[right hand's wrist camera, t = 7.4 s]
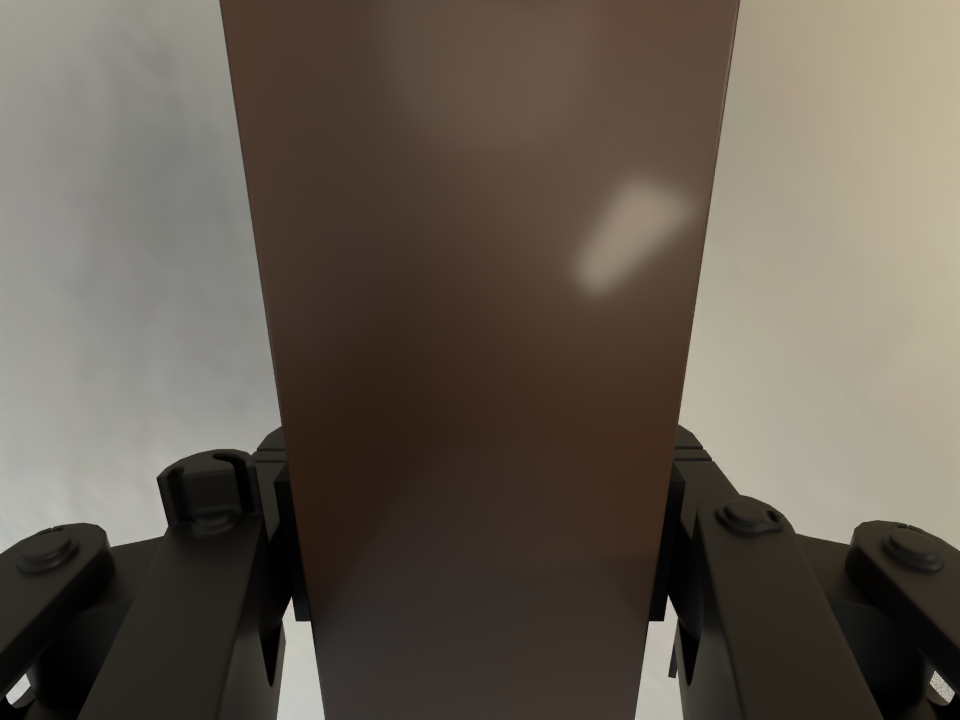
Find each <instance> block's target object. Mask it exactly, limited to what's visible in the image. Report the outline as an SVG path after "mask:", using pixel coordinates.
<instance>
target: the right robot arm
mask: <svg viewBox="0 0 960 720" xmlns="http://www.w3.org/2000/svg"><path fill="white" fill-rule="evenodd" d="M157 482H158V486H159V490H160V494H161V498H162V502H163V506H164V510H165V514H166V518H167V522H168V528H167V530H166V532H165V534H164V536H161V537H157V538H154V539H149V540H144V541H139V542H135V543H130V544H125V545H120V546H115V547H110V544H109V541H108V538H107V534H106V531H104V530H103V529H102V528H101V527H99V526H98V525H94V524H88V523H77V524H67V525H60V526H55V527H54V528H48V529H45V530H42V531H40V532H38V533H36V534H34V535H32V536H30V537H28V538H26V539H23V540H21V541H19V542H18V543H16V544H15V545H13V546H12V547H10V548H9V549H7V550H6V551H4V552H3V553H1V554H0V720H277V712H278V704H279V695H280V687H281V678H282V670H283V661H284V653H285V645H286V640H285V633H284V627H283V621H282V618H283V616H284V613H285V611H286V609H287V606H288V604H289V602H290V599H291V597H292V600H293V606H294V613H295V619H296V621H311V620H310V613H309V607H308V600H307V593H306V586H305V579H304V573H303V566H302V559H301V552H300V545H299V539H298V532H297V525H296V518H295V511H294V505H293V498H292V491H291V484H290V477H289V471H288V464H287V457H286V450H285V443H284V437H283V430H282V426H281V427H279V428H278V429H276V430H275V431H273V432H271V433H270V434H268V435H267V436H266V438H265V439H264V440H263V441H262V443H261V444H260V445H259V447H258V448H257V452H254V453H253V455H252V456H251V455H250V454H249V453H247V452H244V451H240V450H235V449H216V450H211V451H206V452H201V453H197V454H194V455H191V456H188V457H186V458H183V459H180V460H179V461H177V462H175V463H174V464H172V465H170V466H169V467H167V468H165V469H164V471H163V472H162V473H161V474H160V475H159V476H158V477H157ZM668 595H669V597H670V600H671V602H672V604H673V607H674V609H675V611H676V614H677V616H678V621H677V627H676V633H675V639H674V644H673V650H672V656H671V662H670V668H669V675H668V677H671V678H676V673H677V669H678V677H679V685H680V694H681V702H682V711H683V719H684V720H960V551H959V550H957V549H956V548H954V547H953V546H951V545H950V544H948V543H946V542H945V541H943V540H942V539H940V538H938V537H936V536H934V535H932V534H929V533H927V532H925V531H924V530H922V529H920V528H917V527H914V526H911V525H909V526H908V525H907V524H903V523H898V522H888V521H879V520H876V521H869V522H863V523H861V524H860V525H859V526H858V527H856V528H855V529H854V533H853V536H852V539H851V543H850V545H847V544H842V543H837V542H832V541H827V540H822V539H817V538H812V537H808V536H804V535H800V534H796V533H795V531H794V529H793V527H792V525H791V524H790V523H789V521H788V520H787V519H786V518H785V516H784V515H783V514H782V513H780V512H779V511H777V510H776V509H775V508H773V507H772V506H770V505H769V504H766V503H764V502H761V501H759V500H757V499H754V498H752V497H747V496H743V495H739V493H738V492H737V491H736V489H735V488H734V487H733V485H732V484H731V483H730V481H729V480H728V479H727V478H726V476H725V475H724V474H723V472H722V471H721V470H720V468H719V467H718V466H717V465H716V463H715V462H714V461H712V458H711V457H710V455H709V454H708V453H707V452H706V450H703V446H702V445H701V444H700V442H699V441H698V440H697V438H696V437H695V436H694V435H693V433H691V432H690V431H688V430H686V429H685V428H683V427H682V426H680V425H678V427H677V434H676V441H675V447H674V454H673V461H672V468H671V475H670V481H669V488H668V495H667V502H666V509H665V515H664V522H663V529H662V536H661V543H660V550H659V556H658V563H657V570H656V577H655V584H654V590H653V597H652V604H651V611H650V618H649V621H664V616H665V610H666V604H667V598H668ZM935 671H936V672H937V673H938V674H939V675H940V676H941V677H942V679H943V680H944V681H945V682H946V683H947V684H948V685H949V686H950V687H951V689H952V690H953V691H954V692H955V694H954V696H953V699H952V701H951V702H950V703H949V702H947V701H946V700H945V699H944V698H943V697H941V696H940V695H939V694H938V693H937V691H936V690H935V689H934V688H933V687H932V686H931V684H930V681H931V679H932V676H933V674H934V672H935ZM25 673H26V675H27V678H28V680H29V683H30V685H31V686H30V687H29V688H28V689H27V691H26V692H25V693H24V694H23V695H22V696H21V697H20V698H19V699H18V700H17V701H16V702H14V703H13V704H12V705H11V704H10V703H9V702H8V700H7V698H6V695H7V693H8V692H9V691H10V690H11V689H12V688H13V687H14V685H15V684H16V683H17V682H18V681H19V680H20V679H21V678H22V676H23V675H24V674H25Z"/></svg>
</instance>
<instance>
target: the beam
mask: <svg viewBox="0 0 960 720" xmlns="http://www.w3.org/2000/svg"><path fill="white" fill-rule="evenodd" d="M219 1H220V8H221V15H222V22H223V28H224V35H225V42H226V49H227V56H228V62H229V69H230V76H231V83H232V90H233V96H234V103H235V110H236V117H237V124H238V130H239V137H240V144H241V151H242V158H243V164H244V171H245V178H246V185H247V192H248V199H249V205H250V212H251V219H252V226H253V233H254V239H255V246H256V253H257V260H258V267H259V273H260V280H261V287H262V294H263V301H264V307H265V314H266V321H267V328H268V335H269V341H270V348H271V355H272V362H273V369H274V375H275V382H276V389H277V396H278V403H279V409H280V416H281V423H282V430H283V437H284V443H285V450H286V457H287V464H288V471H289V477H290V484H291V491H292V498H293V505H294V511H295V518H296V525H297V532H298V539H299V545H300V552H301V559H302V566H303V573H304V579H305V586H306V593H307V600H308V607H309V613H310V620H311V627H312V634H313V641H314V647H315V654H316V661H317V668H318V675H319V681H320V688H321V695H322V702H323V709H324V715H325V720H635V713H636V706H637V699H638V693H639V686H640V679H641V672H642V665H643V659H644V652H645V645H646V638H647V631H648V625H649V618H650V611H651V604H652V597H653V590H654V584H655V577H656V570H657V563H658V556H659V550H660V543H661V536H662V529H663V522H664V515H665V509H666V502H667V495H668V488H669V481H670V475H671V468H672V461H673V454H674V447H675V441H676V434H677V427H678V420H679V413H680V406H681V400H682V393H683V386H684V379H685V372H686V366H687V359H688V352H689V345H690V338H691V332H692V325H693V318H694V311H695V304H696V297H697V291H698V284H699V277H700V270H701V263H702V257H703V250H704V243H705V236H706V229H707V222H708V216H709V209H710V202H711V195H712V188H713V182H714V175H715V168H716V161H717V154H718V148H719V141H720V134H721V127H722V120H723V113H724V107H725V100H726V93H727V86H728V79H729V73H730V66H731V59H732V52H733V45H734V38H735V32H736V25H737V18H738V11H739V4H740V0H219Z"/></svg>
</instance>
